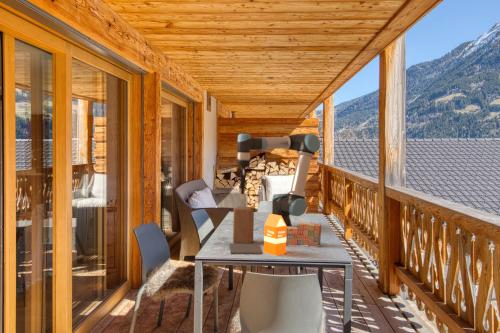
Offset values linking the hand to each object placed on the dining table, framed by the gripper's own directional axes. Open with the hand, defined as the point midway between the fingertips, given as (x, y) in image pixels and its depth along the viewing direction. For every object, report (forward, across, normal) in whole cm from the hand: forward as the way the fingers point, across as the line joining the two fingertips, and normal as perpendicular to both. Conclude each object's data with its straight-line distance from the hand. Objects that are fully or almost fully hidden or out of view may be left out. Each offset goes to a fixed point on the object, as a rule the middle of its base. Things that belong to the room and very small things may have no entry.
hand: (242, 199), depth 262 cm
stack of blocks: (+23, +17, +33) cm, 44 cm away
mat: (+23, +29, +1) cm, 37 cm away
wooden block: (+23, +13, 0) cm, 27 cm away
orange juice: (+23, +36, +16) cm, 46 cm away
